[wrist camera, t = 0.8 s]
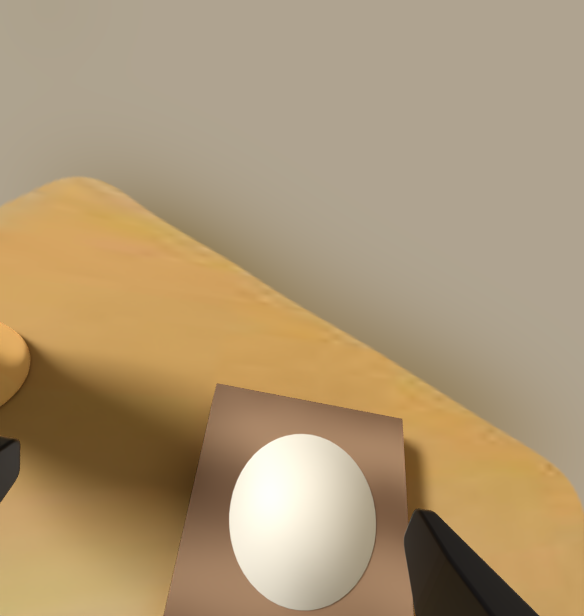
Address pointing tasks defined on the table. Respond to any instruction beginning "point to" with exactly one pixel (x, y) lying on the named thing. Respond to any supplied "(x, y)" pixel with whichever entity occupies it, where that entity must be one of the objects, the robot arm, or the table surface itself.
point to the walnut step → (294, 513)
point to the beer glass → (12, 362)
